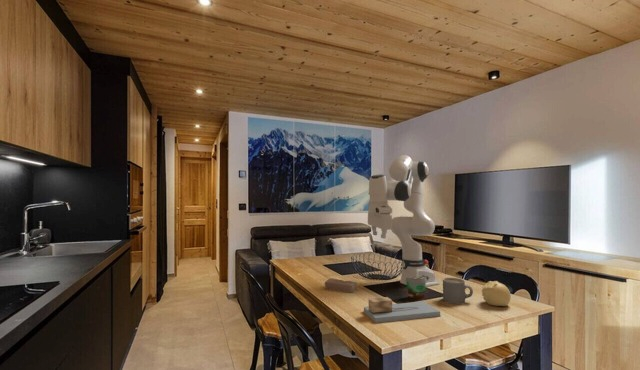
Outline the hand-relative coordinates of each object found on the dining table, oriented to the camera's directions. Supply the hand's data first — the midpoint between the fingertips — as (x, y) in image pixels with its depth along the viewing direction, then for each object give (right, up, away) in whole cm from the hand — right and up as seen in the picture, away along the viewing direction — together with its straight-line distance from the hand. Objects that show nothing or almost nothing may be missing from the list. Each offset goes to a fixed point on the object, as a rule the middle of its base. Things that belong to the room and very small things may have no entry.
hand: (379, 236), depth 153 cm
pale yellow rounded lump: (+55, -32, -3) cm, 64 cm away
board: (+7, -32, -14) cm, 35 cm away
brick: (-17, -33, +22) cm, 44 cm away
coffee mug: (+39, -32, +2) cm, 50 cm away
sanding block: (-3, -30, -16) cm, 34 cm away
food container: (+22, -32, +8) cm, 40 cm away
